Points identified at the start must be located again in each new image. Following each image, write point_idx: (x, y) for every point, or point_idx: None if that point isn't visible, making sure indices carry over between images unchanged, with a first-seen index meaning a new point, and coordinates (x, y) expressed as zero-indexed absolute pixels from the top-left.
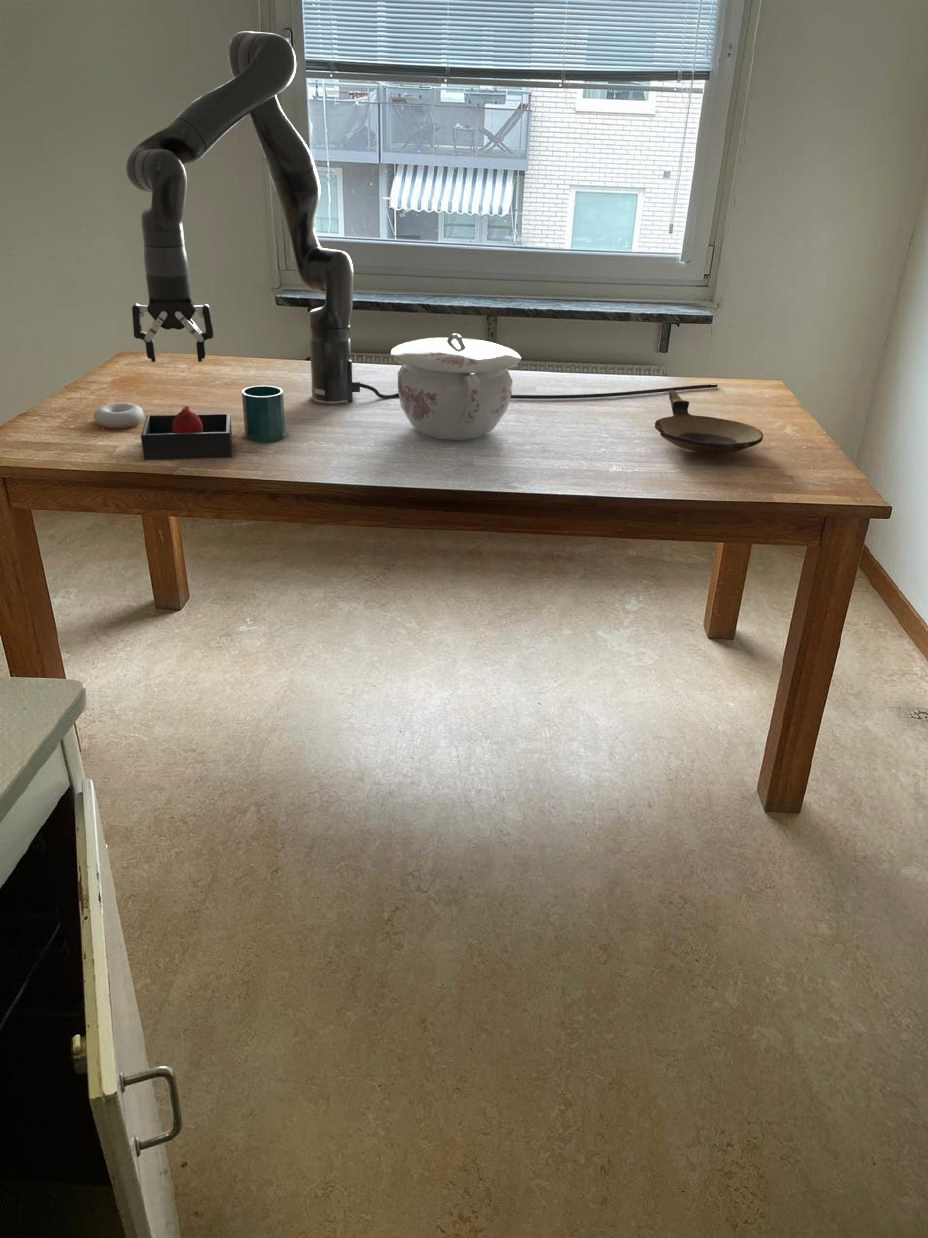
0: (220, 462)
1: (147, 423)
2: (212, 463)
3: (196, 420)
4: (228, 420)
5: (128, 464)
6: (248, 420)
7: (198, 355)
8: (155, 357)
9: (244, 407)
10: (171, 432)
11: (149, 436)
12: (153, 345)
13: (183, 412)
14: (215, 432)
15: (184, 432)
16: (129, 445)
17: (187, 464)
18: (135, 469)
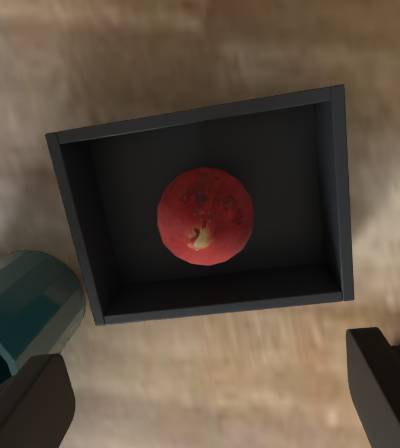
0: (99, 86)
1: (338, 215)
2: (119, 75)
3: (165, 207)
4: (81, 258)
5: (364, 48)
6: (37, 288)
7: (30, 377)
8: (354, 381)
9: (32, 321)
10: (271, 273)
11: (312, 89)
12: (393, 436)
13: (206, 218)
14: (90, 134)
15: (205, 168)
16: (382, 214)
17: (188, 61)
18: (336, 3)
